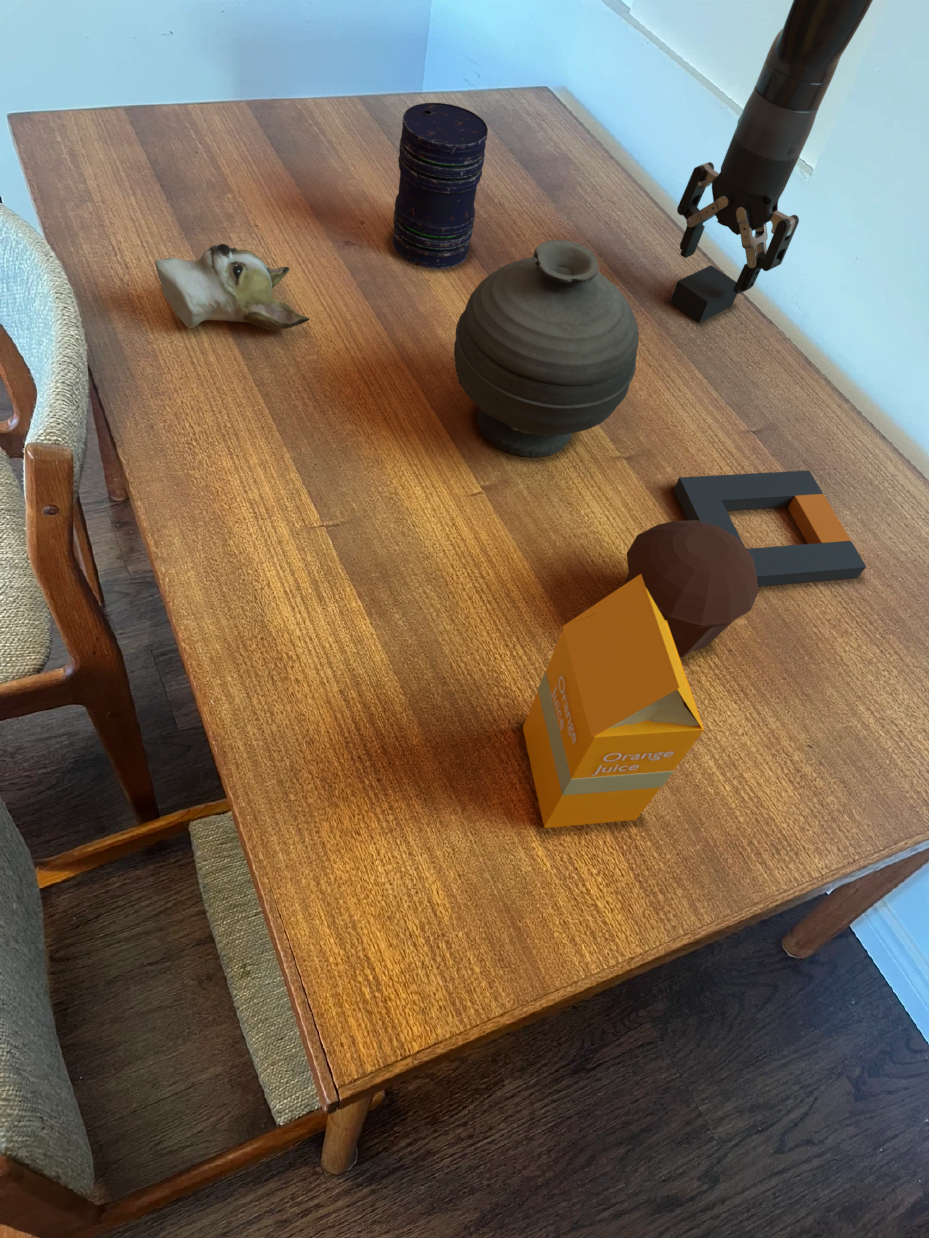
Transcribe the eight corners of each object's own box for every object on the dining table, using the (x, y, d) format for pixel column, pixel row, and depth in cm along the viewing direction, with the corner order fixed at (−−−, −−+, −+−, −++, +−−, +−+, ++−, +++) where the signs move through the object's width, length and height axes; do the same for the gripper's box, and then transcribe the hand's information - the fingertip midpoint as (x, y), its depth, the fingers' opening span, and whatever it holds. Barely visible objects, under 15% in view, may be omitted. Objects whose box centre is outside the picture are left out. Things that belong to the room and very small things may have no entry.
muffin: (625, 673, 76) (662, 604, 68) (590, 573, 82) (621, 500, 74) (747, 661, 79) (797, 594, 71) (705, 565, 85) (746, 494, 77)
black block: (702, 285, 114) (711, 264, 112) (732, 306, 112) (741, 285, 110) (669, 302, 111) (677, 281, 108) (699, 323, 109) (708, 302, 107)
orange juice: (610, 720, 73) (696, 570, 57) (638, 820, 68) (740, 686, 52) (520, 726, 71) (582, 574, 55) (541, 829, 66) (616, 693, 50)
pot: (502, 508, 85) (541, 319, 70) (412, 404, 94) (429, 219, 79) (644, 462, 92) (706, 283, 77) (547, 370, 101) (586, 195, 86)
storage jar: (485, 253, 111) (506, 132, 99) (431, 278, 106) (446, 154, 94) (430, 216, 114) (444, 94, 103) (374, 239, 109) (383, 114, 98)
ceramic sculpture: (145, 216, 90) (290, 217, 95) (152, 290, 97) (286, 287, 102) (162, 278, 85) (314, 275, 90) (167, 352, 92) (308, 345, 97)
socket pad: (801, 482, 94) (809, 470, 93) (857, 578, 87) (866, 566, 86) (673, 489, 91) (679, 477, 89) (720, 590, 83) (727, 578, 82)
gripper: (840, 162, 95) (775, 294, 108) (738, 103, 100) (687, 235, 113) (802, 179, 91) (739, 313, 104) (698, 116, 96) (650, 251, 109)
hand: (712, 272), depth 108 cm, fingers open, 8 cm apart
